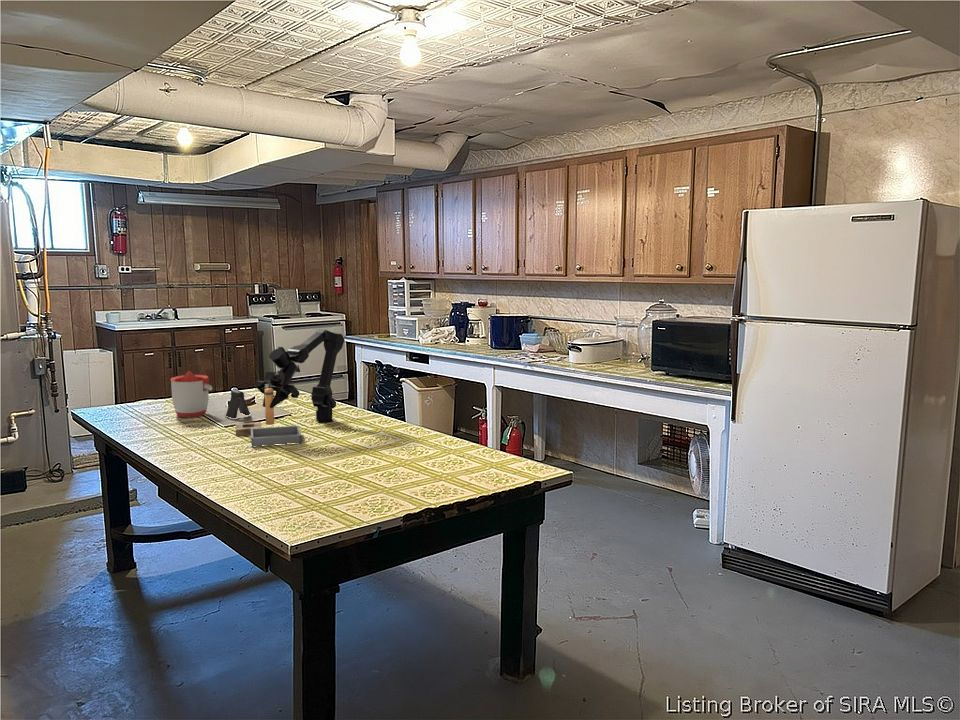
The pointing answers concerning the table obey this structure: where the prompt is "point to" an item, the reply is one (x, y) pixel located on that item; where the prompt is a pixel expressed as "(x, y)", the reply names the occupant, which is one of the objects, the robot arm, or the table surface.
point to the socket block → (246, 428)
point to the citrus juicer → (190, 394)
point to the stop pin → (268, 410)
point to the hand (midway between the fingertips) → (267, 407)
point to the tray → (275, 435)
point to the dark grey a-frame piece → (237, 404)
